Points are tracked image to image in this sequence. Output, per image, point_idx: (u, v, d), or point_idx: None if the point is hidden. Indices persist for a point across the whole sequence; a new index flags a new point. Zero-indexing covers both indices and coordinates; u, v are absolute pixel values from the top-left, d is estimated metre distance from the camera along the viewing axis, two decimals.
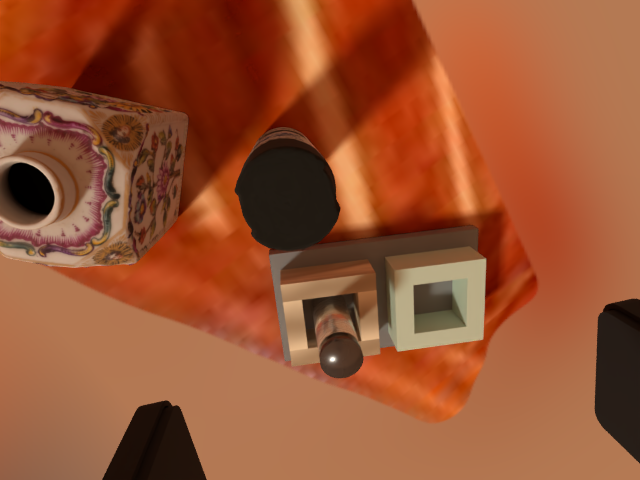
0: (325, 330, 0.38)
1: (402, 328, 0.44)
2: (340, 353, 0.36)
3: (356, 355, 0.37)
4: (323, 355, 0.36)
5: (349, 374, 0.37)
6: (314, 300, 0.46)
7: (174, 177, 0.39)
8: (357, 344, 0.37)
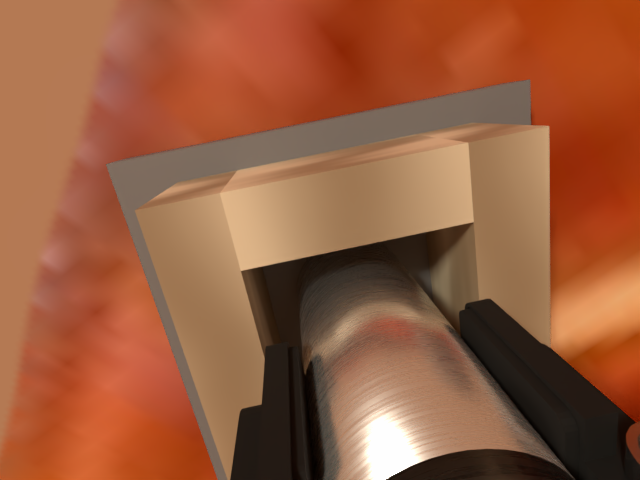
0: (522, 415, 0.07)
1: None
2: None
3: None
4: None
5: None
6: (383, 249, 0.13)
7: None
8: None
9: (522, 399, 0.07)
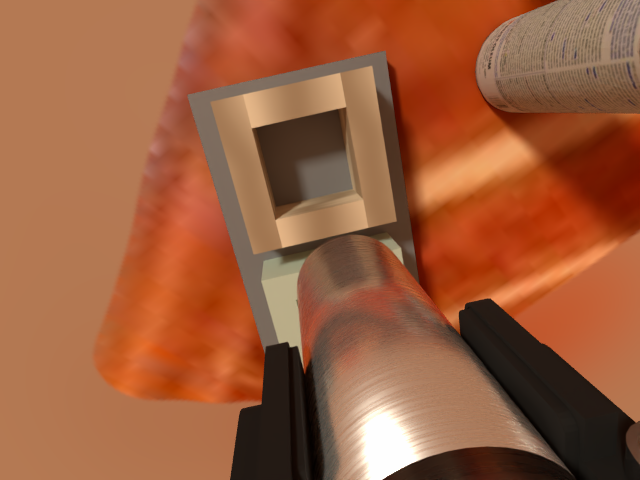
0: (523, 414, 0.07)
1: None
2: None
3: None
4: None
5: None
6: (382, 248, 0.13)
7: None
8: None
9: (522, 399, 0.07)
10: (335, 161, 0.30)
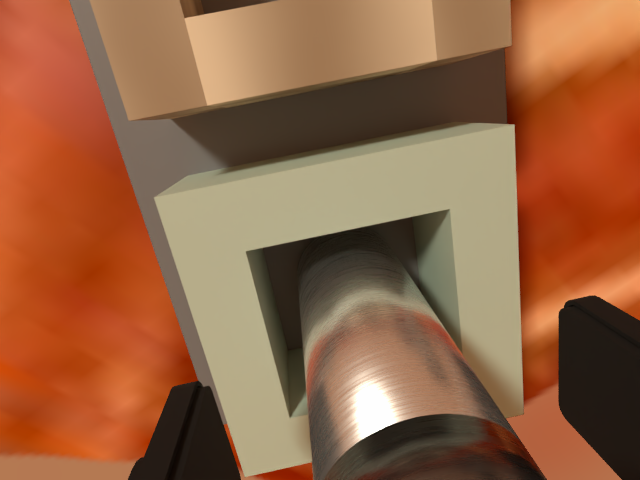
0: (483, 388, 0.08)
1: (265, 199, 0.11)
2: None
3: None
4: None
5: None
6: (376, 239, 0.15)
7: None
8: None
9: None
10: None
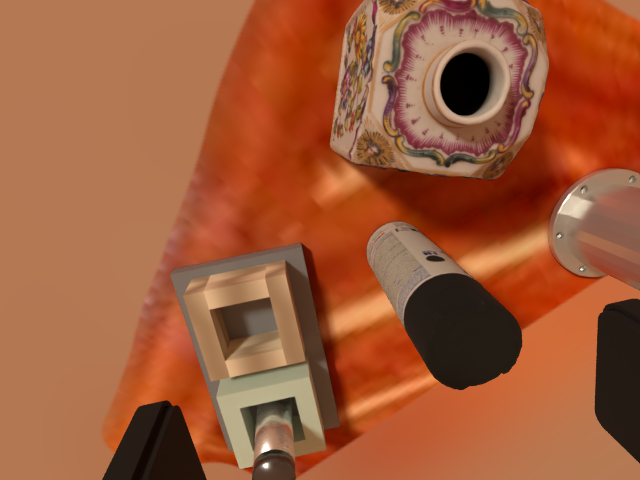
0: (288, 443, 0.39)
1: (244, 396, 0.42)
2: (281, 477, 0.37)
3: None
4: (278, 464, 0.36)
5: None
6: None
7: None
8: None
9: None
10: (270, 312, 0.44)
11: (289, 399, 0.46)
